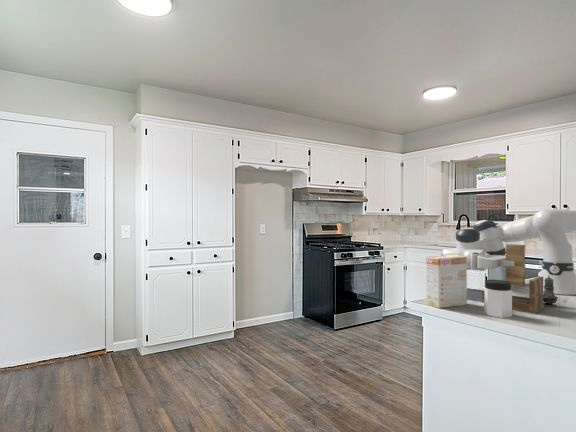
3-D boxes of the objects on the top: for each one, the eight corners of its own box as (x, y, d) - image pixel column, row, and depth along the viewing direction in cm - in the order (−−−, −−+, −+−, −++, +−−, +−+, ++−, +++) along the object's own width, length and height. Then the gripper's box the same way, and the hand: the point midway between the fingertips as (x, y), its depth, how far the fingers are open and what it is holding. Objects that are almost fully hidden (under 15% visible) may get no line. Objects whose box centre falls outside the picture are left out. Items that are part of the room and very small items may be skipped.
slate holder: (465, 295, 163) (465, 287, 163) (489, 299, 156) (489, 290, 156) (458, 298, 158) (458, 289, 158) (482, 301, 151) (482, 293, 151)
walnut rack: (504, 301, 151) (504, 272, 151) (543, 307, 141) (543, 276, 141) (493, 306, 142) (493, 276, 142) (533, 313, 132) (533, 280, 132)
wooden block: (507, 283, 148) (508, 244, 148) (524, 285, 144) (525, 244, 144) (505, 283, 147) (505, 244, 147) (522, 286, 142) (523, 245, 142)
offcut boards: (502, 304, 146) (502, 296, 146) (531, 309, 138) (531, 300, 138) (499, 306, 144) (499, 297, 144) (528, 310, 136) (528, 301, 136)
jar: (514, 318, 126) (514, 284, 126) (488, 317, 128) (488, 282, 128) (506, 312, 134) (506, 279, 134) (482, 310, 136) (482, 278, 136)
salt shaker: (561, 307, 141) (561, 276, 141) (544, 307, 142) (544, 276, 142) (553, 304, 147) (553, 274, 147) (537, 303, 148) (537, 274, 148)
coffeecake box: (453, 301, 152) (453, 254, 152) (467, 305, 145) (467, 256, 145) (425, 304, 146) (425, 256, 146) (439, 308, 140) (439, 257, 140)
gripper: (488, 265, 162) (524, 268, 152) (470, 269, 148) (508, 273, 138) (488, 251, 162) (524, 253, 152) (470, 254, 148) (508, 257, 138)
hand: (516, 263), depth 145 cm, fingers closed on wooden block, 2 cm apart
